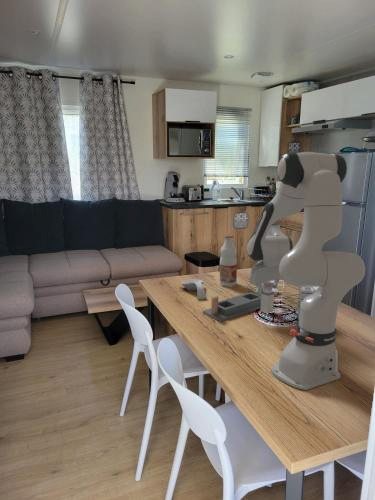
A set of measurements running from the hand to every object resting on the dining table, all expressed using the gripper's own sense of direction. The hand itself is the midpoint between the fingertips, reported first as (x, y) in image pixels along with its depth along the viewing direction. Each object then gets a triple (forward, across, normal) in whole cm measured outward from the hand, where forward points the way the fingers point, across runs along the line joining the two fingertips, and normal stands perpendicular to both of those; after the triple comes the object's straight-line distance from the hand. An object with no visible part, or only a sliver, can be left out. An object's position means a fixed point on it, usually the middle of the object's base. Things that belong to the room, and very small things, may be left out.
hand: (267, 289), depth 163 cm
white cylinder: (+11, 0, 0) cm, 11 cm away
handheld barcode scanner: (+12, -9, +41) cm, 43 cm away
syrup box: (+11, +6, -16) cm, 20 cm away
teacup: (+11, +21, +18) cm, 30 cm away
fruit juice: (+12, +12, +40) cm, 43 cm away
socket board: (+11, -7, +10) cm, 17 cm away
